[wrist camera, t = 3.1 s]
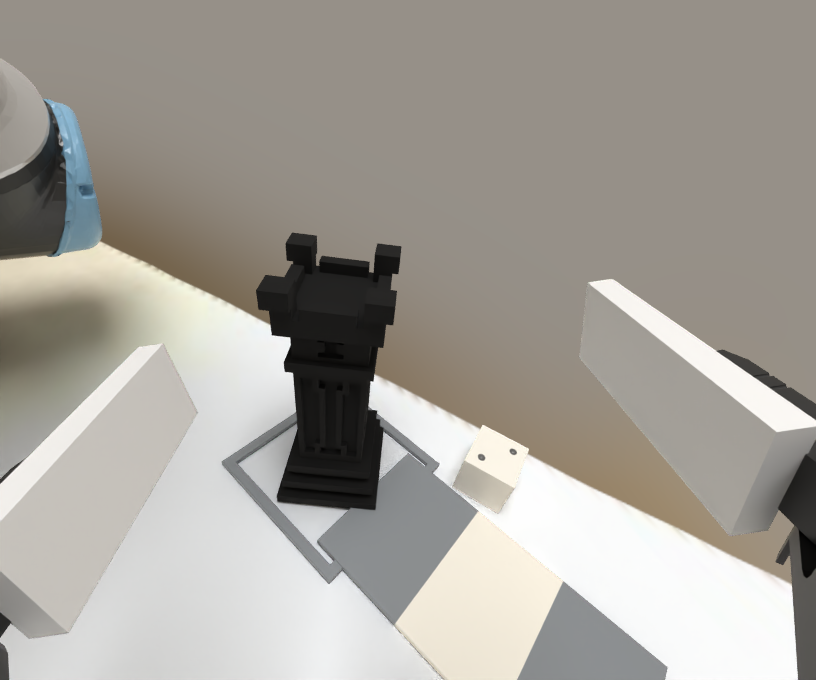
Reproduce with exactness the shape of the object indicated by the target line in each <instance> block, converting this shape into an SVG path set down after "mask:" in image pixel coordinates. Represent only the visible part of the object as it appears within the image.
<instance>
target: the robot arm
mask: <svg viewBox="0 0 816 680" xmlns="http://www.w3.org/2000/svg"><path fill="white" fill-rule="evenodd" d="M91 175H92V174H91V170H90V166H89V161H88V157H87V153H86V149H85V145H84V142H83V138H82V134H81V131H80V127H79V124H78V121H77V118H76V116H75V114H74V112H73V111H72V109H71V108H69V107H67V106H66V105H65V104H61V103H55V102H53V101H52V100H48V99H47V100H46V99H42V97H41V96H40V94H39V93H38V91H37V90H36V88H35V86H34V85H33V84H32V83H31V82H30V81H29V80H28V79H27V78H26V76H24V75H23V74H22V73H21V72H19V71H18V70H17V69H16V68H14V67H13V66H12V65H10V64H9V63H7V62H6V61H4V60H3V59H1V58H0V260H7V259H17V258H28V257H38V256H48V257H55V256H59V255H61V254H62V253H67V252H74V251H80V250H87V249H90V248H92V247H94V246H96V245H97V244H98V243H99V241H100V240H101V237H102V225H101V218H100V212H99V207H98V202H97V198H96V194H95V191H94V189H93V186H94V185H93V181H92V176H91ZM579 358H580V359H581V360H582V361H583V362H584V364H585V365H586V366H587V367H588V368H589V370H590V371H591V372H592V373H593V374H594V376H595V377H596V378H597V379H598V380H599V382H600V383H601V384H602V385H603V386H604V387H605V389H606V390H607V391H608V392H609V393H610V395H611V396H612V397H613V398H614V399H615V401H616V402H617V403H618V404H619V405H620V406H621V408H622V409H623V410H624V411H625V412H626V414H627V415H628V416H629V417H630V418H631V420H632V421H633V422H634V423H635V424H636V425H637V427H638V428H639V429H640V430H641V431H642V433H643V434H644V435H645V436H646V437H647V439H648V440H649V441H650V442H651V443H652V444H653V446H654V447H655V448H656V449H657V450H658V452H659V453H660V454H661V455H662V456H663V457H664V459H665V460H666V461H667V462H668V464H669V465H670V466H671V467H672V468H673V469H674V471H675V472H676V473H677V474H678V475H679V476H680V478H681V479H682V480H683V481H684V483H686V485H687V486H688V487H689V488H690V489H691V491H692V492H693V493H694V494H695V496H696V497H697V498H698V499H699V500H700V501H701V503H702V504H703V505H704V506H705V507H706V509H708V511H709V512H710V513H711V515H712V516H713V517H714V518H715V519H716V520H717V522H718V523H719V524H720V525H721V526H722V528H723V529H724V530H725V531H726V532H727V534H728V535H729V536H733V535H741V534H747V533H754V532H761V531H767V530H768V529H769V528H770V526H771V524H772V522H773V520H774V518H775V516H776V514H777V512H778V510H780V511H781V512H782V513H783V514H784V515H785V516H786V517H787V518H788V519H789V520H790V521H791V522H792V523H793V524H794V527H793V529H792V531H791V532H790V534H789V536H788V538H787V539H786V541H785V543H784V544H783V546H782V548H781V550H780V551H779V553H778V556H777V559H776V562H777V563H779V564H782V565H783V564H784V562H785V561H786V559H787V557H788V556H790V559H791V575H792V591H793V606H794V622H795V638H796V653H797V669H798V680H816V404H815V403H814V402H812V401H810V400H809V399H807V398H806V397H804V396H803V395H801V394H800V393H798V392H797V391H795V390H794V389H792V388H787V387H786V384H785V383H783V382H782V381H780V380H778V379H777V378H775V377H774V376H769V373H768V372H766V371H765V370H763V369H762V368H760V367H759V366H757V365H756V364H754V363H752V362H751V361H750V360H748V359H745V358H742V357H740V356H738V355H735V354H732V353H730V352H727V351H725V350H719V351H715V350H714V349H712V348H711V347H709V346H708V345H707V344H705V343H704V342H702V341H701V340H699V339H698V338H696V337H695V336H694V335H692V334H691V333H689V332H688V331H686V330H685V329H684V328H682V327H681V326H679V325H678V324H676V323H675V322H674V321H672V320H671V319H669V318H668V317H666V316H665V315H663V314H662V313H661V312H659V311H657V310H656V309H655V308H653V307H652V306H650V305H649V304H648V303H646V302H645V301H643V300H642V299H640V298H639V297H637V296H636V295H635V294H633V293H632V292H630V291H629V290H627V289H626V288H624V287H623V286H622V285H620V284H619V283H617V282H616V281H614V280H613V279H609V280H602V281H595V282H589V283H588V284H587V294H586V302H585V311H584V322H583V330H582V339H581V348H580V357H579ZM197 413H198V412H197V410H196V408H195V406H194V404H193V402H192V400H191V398H190V396H189V394H188V392H187V390H186V388H185V386H184V384H183V382H182V380H181V378H180V376H179V374H178V372H177V370H176V368H175V366H174V364H173V362H172V360H171V358H170V356H169V354H168V352H167V350H166V348H165V346H164V344H156V345H149V346H142V347H138V348H137V349H136V350H135V351H134V352H133V353H132V354H131V355H130V356H129V357H128V358H127V359H126V360H125V361H124V362H123V363H122V364H121V365H120V366H119V367H118V368H117V369H116V370H115V371H114V372H113V373H112V374H111V375H110V376H109V377H108V378H107V379H106V380H105V381H104V382H103V383H102V384H101V385H100V386H99V387H98V388H97V389H96V390H95V391H94V392H93V393H92V394H91V395H89V396H88V397H87V398H86V399H85V400H84V401H83V402H82V403H81V404H80V405H79V406H78V407H77V408H76V409H75V410H74V411H73V412H72V413H71V414H70V415H69V416H68V417H67V418H66V419H65V420H64V421H63V422H62V423H61V424H60V425H59V426H58V427H57V428H56V429H55V430H54V431H53V432H52V433H51V434H50V435H49V436H48V437H47V438H46V439H45V440H44V441H43V442H42V443H41V444H40V445H39V446H38V447H37V448H36V449H35V450H34V451H33V452H32V453H31V454H30V455H29V456H28V457H27V458H25V459H24V460H23V461H21V462H20V463H18V464H17V465H15V466H14V467H13V468H11V469H10V470H9V471H8V472H7V473H6V474H5V475H4V476H3V477H2V478H1V479H0V637H1V636H2V634H3V633H4V632H5V630H6V629H7V627H8V626H9V625H10V623H11V624H12V625H13V626H15V627H16V628H17V629H18V630H20V631H21V632H22V633H23V634H24V635H26V636H27V637H28V638H29V639H31V638H38V637H45V636H52V635H59V634H65V633H69V631H70V630H71V628H72V626H73V624H74V623H75V621H76V619H77V618H78V616H79V614H80V613H81V611H82V609H83V607H84V606H85V604H86V602H87V601H88V599H89V597H90V596H91V594H92V592H93V590H94V589H95V587H96V585H97V584H98V582H99V580H100V578H101V577H102V575H103V573H104V572H105V570H106V568H107V567H108V565H109V563H110V561H111V560H112V558H113V556H114V555H115V553H116V551H117V550H118V548H119V546H120V544H121V543H122V541H123V539H124V538H125V536H126V534H127V532H128V531H129V529H130V527H131V526H132V524H133V522H134V521H135V519H136V517H137V515H138V514H139V512H140V510H141V509H142V507H143V505H144V504H145V502H146V500H147V498H148V497H149V495H150V493H151V492H152V490H153V488H154V486H155V485H156V483H157V481H158V480H159V478H160V476H161V475H162V473H163V471H164V469H165V468H166V466H167V464H168V463H169V461H170V459H171V458H172V456H173V454H174V452H175V451H176V449H177V447H178V446H179V444H180V442H181V440H182V439H183V437H184V435H185V434H186V432H187V430H188V429H189V427H190V425H191V423H192V422H193V420H194V418H195V417H196V415H197ZM0 680H9V666H8V653H7V650H6V648H5V646H4V645H3V644H1V643H0Z"/></svg>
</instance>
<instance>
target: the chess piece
mask: <svg viewBox="0 0 816 680" xmlns="http://www.w3.org/2000/svg"><path fill="white" fill-rule="evenodd" d="M316 254H317V236H314V235H307V234H299V233H292V234H291V235H290V237H289V239H288V240H287V242H286V255H287V261H293V264H291V266H290V268H289V270H288V272H287V273H286V275H285V277H277V276H269V275H265V277H264V279H263V280H262V282H261V283H260V285H259V287H258V288H257V290H256V294H257V301H258V308H259V310H266V311H269V315H270V323H271V332H272V335H274V336H283V337H290V339H291V346H290V349H289V351H288V354H287V356H286V358H285V361H284V369H285V372H291V373H293V377H294V390H295V403H296V415H297V428H298V429H297V433H296V436H295V439H294V442H293V445H292V449H291V452H290V455H289V458H288V462H287V465H286V468H285V471H284V474H283V478H282V481H281V484H280V487H279V491H278V494H277V500H278V501H282V502H293V503H304V504H315V505H325V506H336V507H347V508H358V509H368V510H375V509H376V500H377V490H378V480H379V470H380V460H381V450H382V440H383V430H384V427H380V420H381V419H376V417H377V411H376V410H368V404H369V393H370V381H373V380H374V373H375V366H376V359H377V351H378V347H380V348H383V346H384V338H385V330H386V325H393V322H394V313H395V305H396V295H397V294H396V293H397V291H393V290H391V280H392V274H398V272H399V264H400V254H401V246H393V245H385V244H377V248H376V252H375V262H374V273H371V272H369V262H367V261H359V260H351V259H343V258H335V257H326V256H322V257H321V259H320V262H319V263H320V264H319V265H320V266H316Z"/></svg>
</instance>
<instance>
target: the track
mask: <svg viewBox="0 0 816 680" xmlns="http://www.w3.org/2000/svg"><path fill="white" fill-rule="evenodd" d="M317 543H318V544H319V545H320V546H321V547H322V548H323V549H324V550H325V552H326V553H327V554H328V555H329V556H330V557H331V558H332V559H333V560H336V561H337V562H338V563H339V564H340V565H341V566H342V567H343V569H342V570H343V571H344V572H345V573H346V574H347V575H348V576H349V577H350V578H351V580H352V581H353V582H354V583H355V584H356V585H357V586H358V587H359V588H360V589H361V590H362V591H363V592H364V594H365V595H366V596H367V597H368V598H369V599H370V600H371V601H372V602H373V603H374V604H375V605H376V606H377V608H378V609H379V610H380V611H381V612H382V613H383V614H384V615H385V616H386V617H387V618H388V619H389V621H390V622H391V623H392V624H393V625H394V626H395V627H396V628H397V629H398V630H399V631H400V632H401V633H402V635H403V636H404V637H405V638H406V639H407V640H408V641H409V642H410V643H411V644H412V645H413V646H414V647H415V649H416V650H417V651H418V652H419V653H420V654H421V655H422V656H423V657H424V658H425V659H426V660H427V661H428V663H429V664H430V665H431V666H432V667H433V668H434V669H435V670H436V671H437V672H438V673H439V674H440V675H441V677H442V678H443V679H444V680H665V677H666V672H667V668H668V667H666V666H665V665H664V664H663V663H662V662H660V661H659V660H658V659H657V658H656V657H654V656H653V655H652V654H651V653H650V652H648V651H647V650H646V649H645V648H643V647H642V646H641V645H640V644H639V643H637V642H636V641H635V640H634V639H633V638H631V637H630V636H629V635H628V634H627V633H625V632H624V631H623V630H622V629H620V628H619V627H618V626H617V625H616V624H614V623H613V622H612V621H611V620H610V619H608V618H607V617H606V616H605V615H604V614H602V613H601V612H600V611H599V610H597V609H596V608H595V607H594V606H593V605H591V604H590V603H589V602H588V601H587V600H585V599H584V598H583V597H582V596H581V595H579V594H578V593H577V592H576V591H575V590H573V589H572V588H571V587H570V586H568V585H567V584H566V583H565V582H564V581H562V580H561V579H560V578H559V577H558V576H556V575H555V574H554V573H553V572H552V571H550V570H549V569H548V568H547V567H545V566H544V565H543V564H542V563H541V562H539V561H538V560H537V559H536V558H535V557H533V556H532V555H531V554H530V553H529V552H527V551H526V550H525V549H524V548H522V547H521V546H520V545H519V544H518V543H516V542H515V541H514V540H513V539H512V538H510V537H509V536H508V535H507V534H506V533H504V532H503V531H502V530H501V529H499V528H498V527H497V526H496V525H495V524H493V523H492V522H491V521H490V520H489V519H487V518H486V517H485V516H484V515H483V514H481V513H480V512H479V511H478V510H476V509H475V508H474V507H473V506H472V505H470V504H469V503H468V502H467V501H466V500H464V499H463V498H462V497H461V496H460V495H458V494H457V493H456V492H455V491H453V490H452V489H451V488H450V487H449V486H447V485H446V484H445V483H444V482H443V481H441V480H440V479H439V478H438V477H437V476H435V475H434V474H433V473H432V472H430V471H429V470H428V469H427V468H426V467H424V466H423V465H422V464H421V463H420V462H418V461H417V460H416V459H415V458H414V457H412V456H411V455H410V454H409V453H408V454H407V455H406V456H405V457H404V458H403V459H402V460H401V461H399V462H398V463H397V464H396V465H395V466H394V467H393V468H392V469H391V470H390V471H389V472H388V473H387V474H386V475H385V476H384V477H383V478H382V479H381V480H380V481H379V482H378V490H377V500H376V509H375V510H368V509H358V508H350V509H349V510H348V511H347V512H346V513H345V514H344V515H343V516H342V517H341V518H340V519H339V520H338V521H337V522H336V523H335V524H334V525H333V526H332V527H331V528H330V529H328V530H327V531H326V532H325V533H324V534H323V535H322V536H321V537H320V538H319V539H318V540H317Z"/></svg>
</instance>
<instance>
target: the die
mask: <svg viewBox="0 0 816 680" xmlns="http://www.w3.org/2000/svg"><path fill="white" fill-rule="evenodd" d="M528 450H529V449H528V448H526V447H524V446H522V445H520V444H518V443H517V442H515V441H513V440H511V439H509V438H507V437H505V436H503V435H501V434H500V433H498V432H496V431H494V430H492V429H490V428H488V427H486V426H484V425H482V427H481V429H480V431H479V433H478V435H477V437H476V439H475V441H474V443H473V444H472V446H471V448H470V450H469V452H468V454H467V456H466V458H465V460H464V462H463V464H462V467H461V469H460V471H459V473H458V475H457V478H456V480H455V482H454V484H453V486H452V487H453V488H455V489H456V490H458V491H460V492H461V493H463V494H465V495H467V496H468V497H470V498H472V499H473V500H475V501H477V502H479V503H480V504H482V505H484V506H485V507H487V508H489V509H491V510H492V511H494V512H496V513H497V514H498V513H499V511H500V510H501V508H502V507H503V505H504V504H505V502H506V501H507V499H508V497H509V496H510V494H511V493H512V491H513V490H514V488H515V486H516V483H517V480H518V477H519V475H520V472H521V469H522V467H523V464H524V461H525V458H526V456H527V453H528Z"/></svg>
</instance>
